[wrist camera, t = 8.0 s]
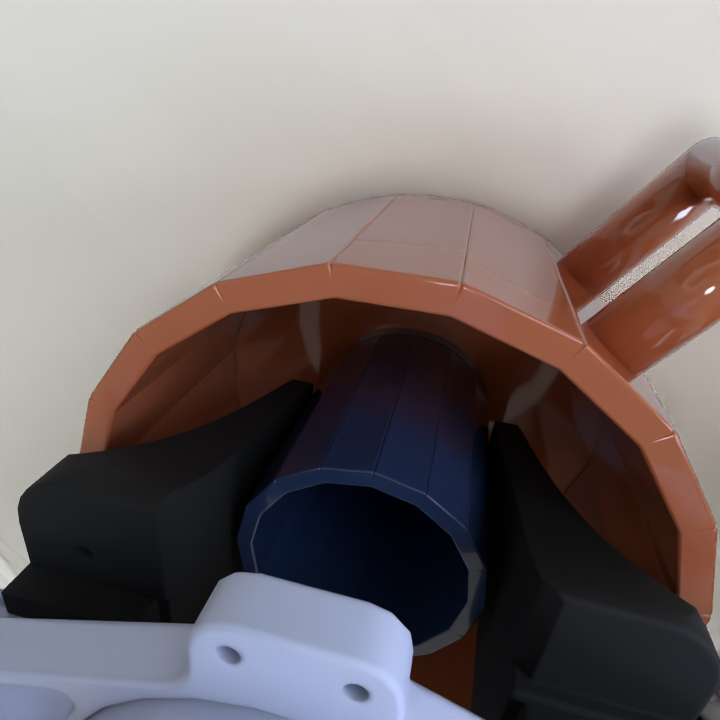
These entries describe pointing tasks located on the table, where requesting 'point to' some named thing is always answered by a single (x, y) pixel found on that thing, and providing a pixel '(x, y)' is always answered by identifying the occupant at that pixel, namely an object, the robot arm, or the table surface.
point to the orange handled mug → (470, 351)
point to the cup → (384, 487)
